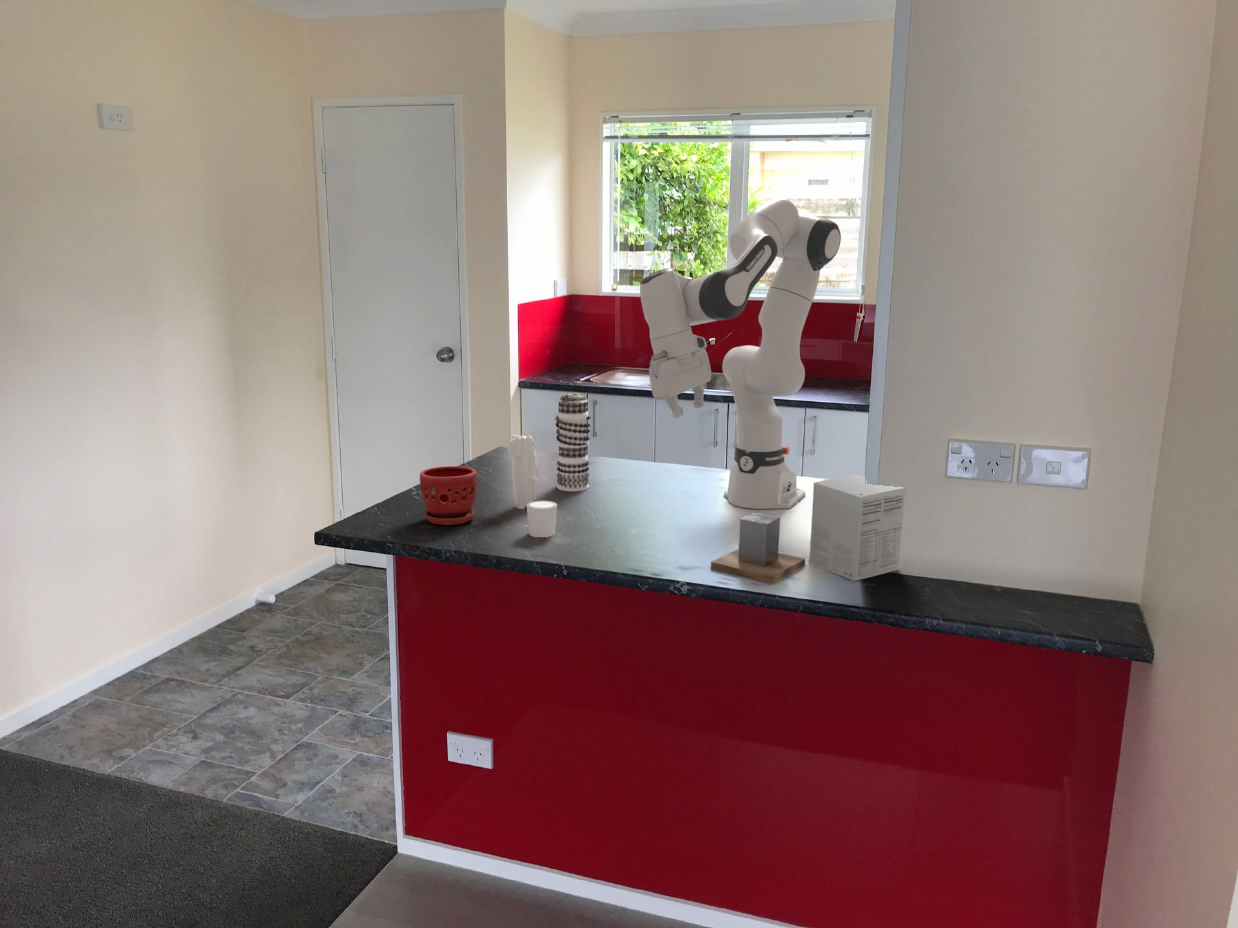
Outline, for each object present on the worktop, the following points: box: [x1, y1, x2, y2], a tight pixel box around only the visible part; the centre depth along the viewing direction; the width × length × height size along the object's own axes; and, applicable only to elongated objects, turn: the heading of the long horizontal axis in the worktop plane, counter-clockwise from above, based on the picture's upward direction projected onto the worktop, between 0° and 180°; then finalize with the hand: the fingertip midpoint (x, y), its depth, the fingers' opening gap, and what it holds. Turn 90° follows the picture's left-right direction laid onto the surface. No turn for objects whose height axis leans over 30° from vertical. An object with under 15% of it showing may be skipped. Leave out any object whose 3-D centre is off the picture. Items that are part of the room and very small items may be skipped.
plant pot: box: [419, 465, 478, 526], centre depth 228 cm, size 13×13×12 cm
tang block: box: [710, 548, 806, 585], centre depth 199 cm, size 14×14×6 cm
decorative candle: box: [554, 392, 592, 492], centre depth 256 cm, size 9×9×25 cm
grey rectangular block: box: [738, 511, 781, 567], centre depth 198 cm, size 6×6×9 cm
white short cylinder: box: [526, 500, 558, 539], centre depth 219 cm, size 7×7×7 cm
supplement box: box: [808, 474, 906, 582], centre depth 198 cm, size 13×13×18 cm
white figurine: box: [507, 434, 540, 510], centre depth 238 cm, size 7×18×7 cm
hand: (689, 411), depth 205 cm, fingers open, 8 cm apart
